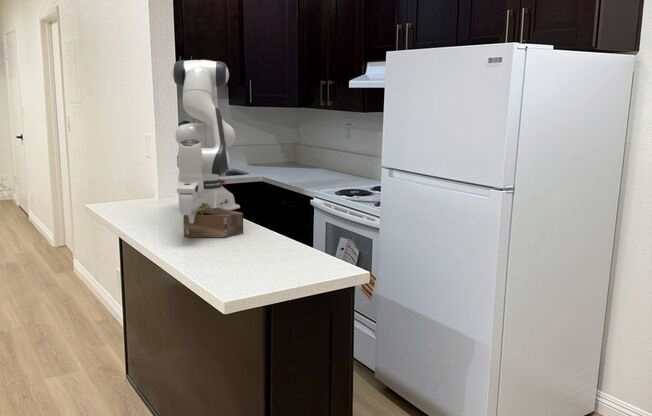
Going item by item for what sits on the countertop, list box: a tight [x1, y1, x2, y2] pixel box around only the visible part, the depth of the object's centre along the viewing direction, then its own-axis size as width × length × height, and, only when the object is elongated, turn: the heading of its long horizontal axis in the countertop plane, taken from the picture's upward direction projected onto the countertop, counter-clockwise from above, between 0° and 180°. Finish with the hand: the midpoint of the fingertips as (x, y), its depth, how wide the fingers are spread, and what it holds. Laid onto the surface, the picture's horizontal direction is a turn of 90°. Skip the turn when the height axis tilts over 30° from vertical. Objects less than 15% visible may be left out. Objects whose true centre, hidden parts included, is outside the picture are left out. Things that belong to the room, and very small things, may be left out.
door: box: [182, 215, 227, 238], centre depth 217 cm, size 2×16×8 cm, turn 91°
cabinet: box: [202, 208, 244, 238], centre depth 226 cm, size 8×15×8 cm, turn 49°
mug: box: [196, 202, 211, 215], centre depth 237 cm, size 12×10×10 cm
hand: (192, 222), depth 215 cm, fingers closed
